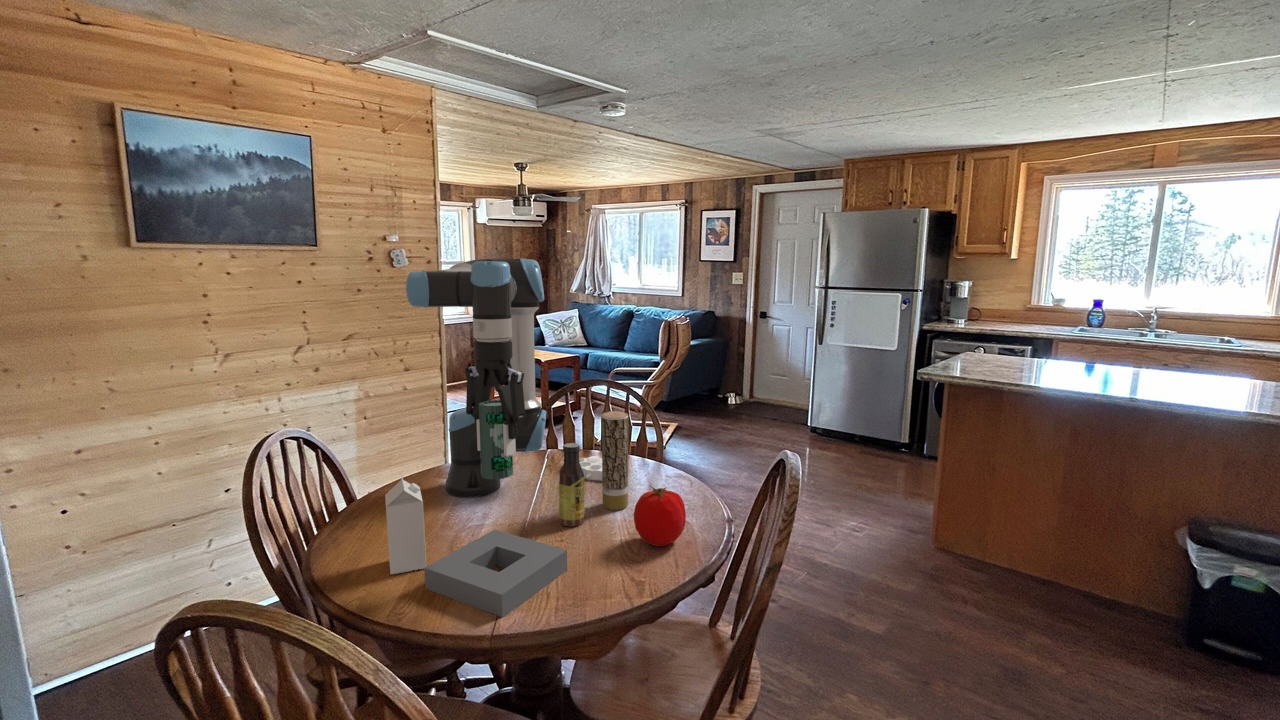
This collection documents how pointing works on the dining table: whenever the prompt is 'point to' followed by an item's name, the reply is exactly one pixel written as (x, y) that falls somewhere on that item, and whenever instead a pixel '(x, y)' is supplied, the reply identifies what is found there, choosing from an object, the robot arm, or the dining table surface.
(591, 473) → the white muffin tray
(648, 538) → the tomato
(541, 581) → the socket block
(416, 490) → the milk carton
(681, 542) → the dining table surface
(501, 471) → the can
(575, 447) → the sauce bottle
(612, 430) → the paper tube
